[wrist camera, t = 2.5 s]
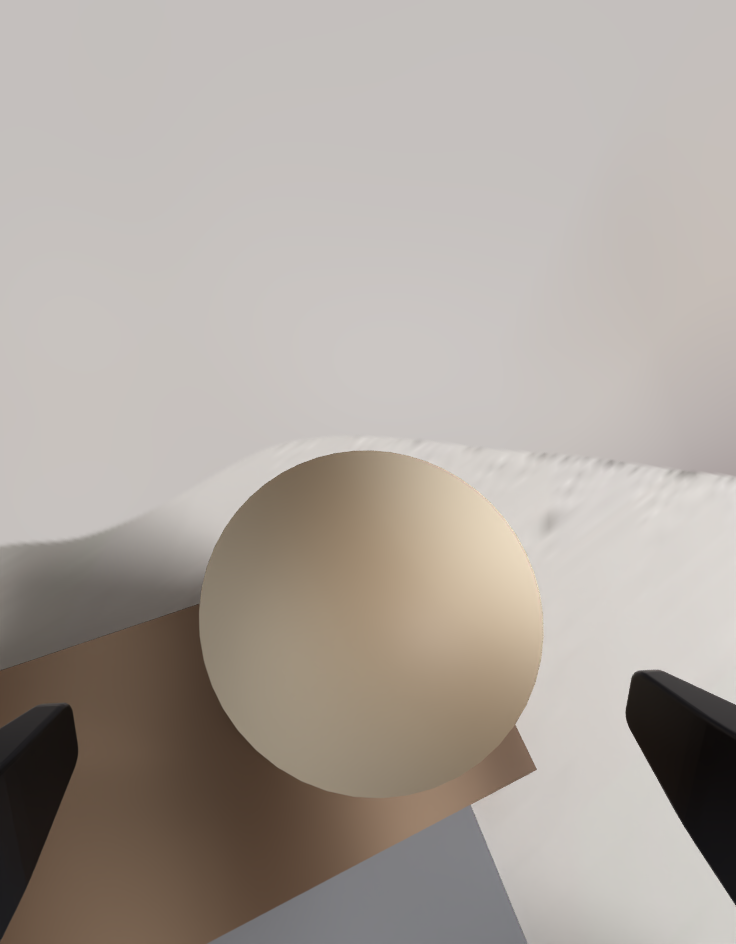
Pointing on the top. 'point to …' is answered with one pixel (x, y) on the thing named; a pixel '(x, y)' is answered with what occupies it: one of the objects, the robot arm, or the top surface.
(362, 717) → the birch cylinder
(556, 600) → the top surface
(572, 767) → the top surface
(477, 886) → the mat
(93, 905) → the wooden track
